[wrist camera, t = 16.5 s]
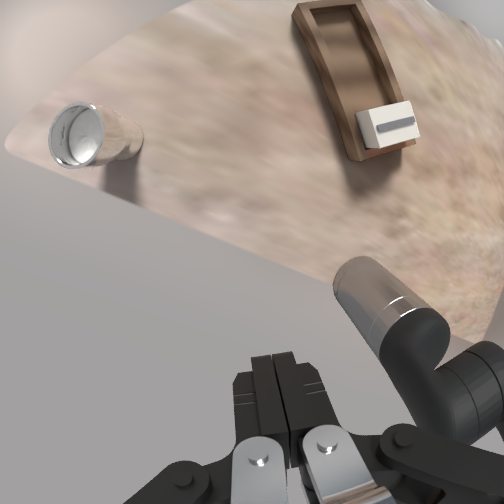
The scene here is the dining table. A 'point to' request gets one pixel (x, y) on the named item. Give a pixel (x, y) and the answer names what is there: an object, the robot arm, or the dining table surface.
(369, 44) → the wooden tray
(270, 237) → the dining table surface
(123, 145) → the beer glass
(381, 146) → the slider block
